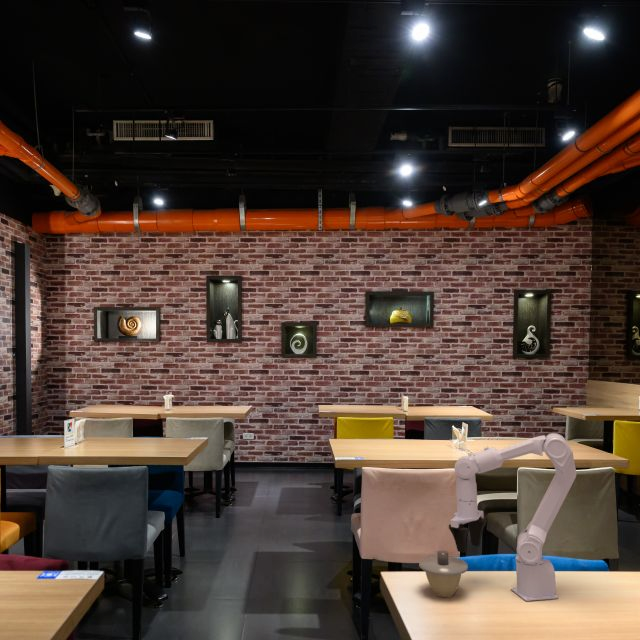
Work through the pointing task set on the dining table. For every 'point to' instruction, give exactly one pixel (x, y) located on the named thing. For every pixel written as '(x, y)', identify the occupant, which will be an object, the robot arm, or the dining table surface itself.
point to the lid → (443, 564)
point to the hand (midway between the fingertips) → (468, 548)
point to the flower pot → (443, 584)
